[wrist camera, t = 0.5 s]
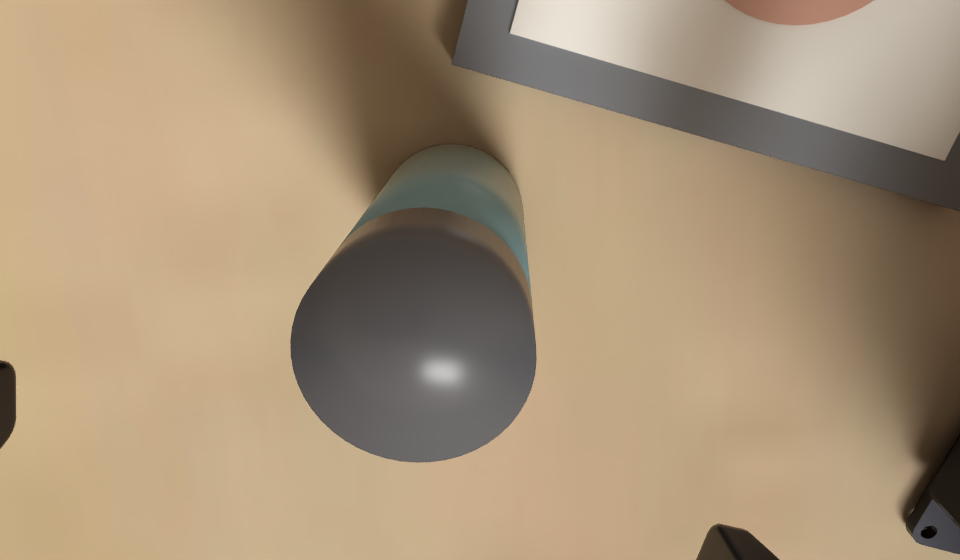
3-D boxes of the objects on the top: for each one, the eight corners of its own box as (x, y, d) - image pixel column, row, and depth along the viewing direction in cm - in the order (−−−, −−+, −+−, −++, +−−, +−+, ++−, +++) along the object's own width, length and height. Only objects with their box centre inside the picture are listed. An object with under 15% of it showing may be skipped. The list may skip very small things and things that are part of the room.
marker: (541, 166, 19) (568, 278, 11) (501, 296, 21) (497, 486, 12) (399, 126, 19) (315, 210, 10) (368, 260, 20) (271, 429, 12)
